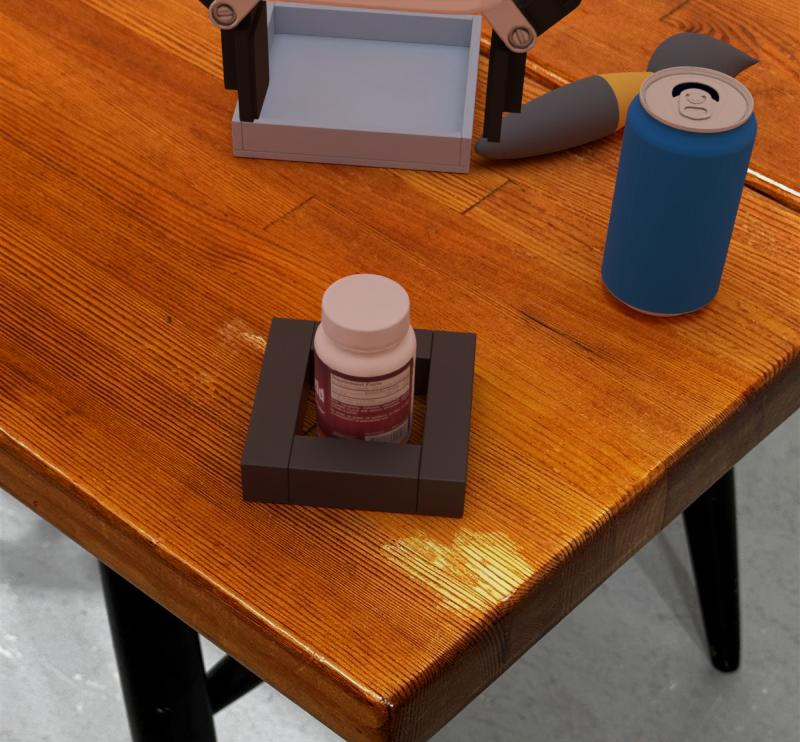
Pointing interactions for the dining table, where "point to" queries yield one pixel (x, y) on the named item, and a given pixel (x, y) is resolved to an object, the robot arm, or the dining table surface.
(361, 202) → the dining table surface
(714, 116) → the beverage can
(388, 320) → the pill bottle
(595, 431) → the dining table surface
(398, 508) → the frame
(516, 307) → the dining table surface
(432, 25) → the tray
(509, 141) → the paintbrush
